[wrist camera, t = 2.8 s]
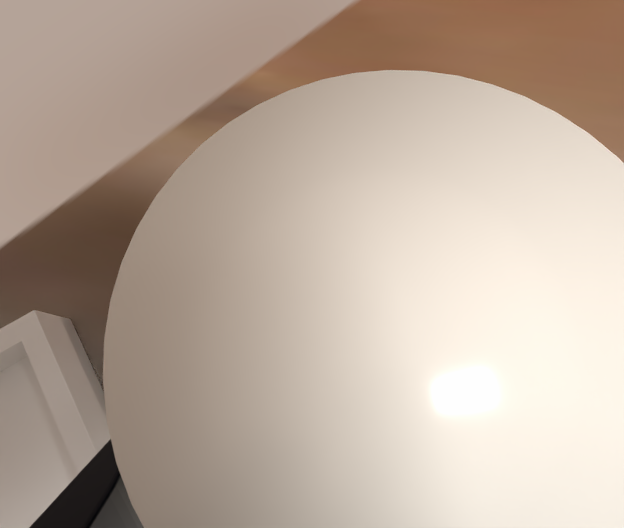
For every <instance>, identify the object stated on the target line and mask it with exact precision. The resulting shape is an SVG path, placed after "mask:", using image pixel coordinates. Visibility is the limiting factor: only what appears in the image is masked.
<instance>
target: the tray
mask: <svg viewBox="0 0 624 528" xmlns="http://www.w3.org/2000/svg"><path fill="white" fill-rule="evenodd" d="M110 439H111V437H110V433H109V429H108V424H107V419H106V408H105V397H104V391H103V389H102V387H101V385H100V383H99V380H98V378H97V376H96V374H95V372H94V369H93V367H92V365H91V363H90V361H89V359H88V356H87V354H86V352H85V350H84V348H83V345H82V343H81V341H80V339H79V337H78V335H77V332H76V330H75V328H74V326H73V324H72V322H71V319H68V318H64V317H60V316H57V315H53V314H49V313H45V312H41V311H37V310H33V311H31V312H29V313H28V314H26V315H24V316H22V317H20V318H19V319H17V320H15V321H13V322H11V323H10V324H8V325H6V326H4V327H2V328H1V329H0V528H29V527H30V526H31V525H32V524H33V523H34V522H35V521H36V520H37V518H38V517H39V516H40V515H41V514H42V513H43V512H44V511H45V510H46V509H47V508H48V506H49V505H50V504H51V503H52V502H53V501H54V500H55V499H56V498H57V497H58V496H59V494H60V493H61V492H62V491H63V490H64V489H65V488H66V487H67V486H68V485H69V484H70V482H71V481H72V480H73V479H74V478H75V477H76V476H77V475H78V474H79V473H80V472H81V470H82V469H83V468H84V467H85V466H86V465H87V464H88V463H89V462H90V461H91V460H92V458H93V457H94V456H95V455H96V454H97V453H98V452H99V451H100V450H101V449H102V448H103V446H104V445H105V444H106V443H107V442H108V441H109V440H110Z"/></svg>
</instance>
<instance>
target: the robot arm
mask: <svg viewBox="0 0 624 528" xmlns="http://www.w3.org/2000/svg"><path fill="white" fill-rule="evenodd" d="M29 528H144V527H143V525H142V523H141V521H140V519H139V517H138V515H137V513H136V512H135V510H134V508H133V506H132V504H131V501H130V499H129V496H128V493H127V490H126V488H125V485H124V482H123V480H122V477H121V474H120V472H119V469H118V466H117V463H116V459H115V455H114V451H113V446H112V442H111V439H110V440H109V441H108V442H107V443H106V444H105V445H104V446H103V448H102V449H101V450H100V451H99V452H98V453H97V454H96V455H95V456H94V457H93V458H92V460H91V461H90V462H89V463H88V464H87V465H86V466H85V467H84V468H83V469H82V470H81V472H80V473H79V474H78V475H77V476H76V477H75V478H74V479H73V480H72V481H71V482H70V484H69V485H68V486H67V487H66V488H65V489H64V490H63V491H62V492H61V493H60V494H59V496H58V497H57V498H56V499H55V500H54V501H53V502H52V503H51V504H50V505H49V506H48V508H47V509H46V510H45V511H44V512H43V513H42V514H41V515H40V516H39V517H38V518H37V520H36V521H35V522H34V523H33V524H32V525H31V526H30V527H29Z"/></svg>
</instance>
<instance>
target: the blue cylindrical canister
mask: <svg viewBox="0 0 624 528" xmlns="http://www.w3.org/2000/svg"><path fill="white" fill-rule="evenodd" d="M103 387H104V397H105V408H106V419H107V424H108V429H109V433H110V437H111V442H112V446H113V451H114V455H115V459H116V463H117V466H118V469H119V472H120V474H121V477H122V480H123V482H124V485H125V488H126V490H127V493H128V496H129V499H130V501H131V504H132V506H133V508H134V510H135V512H136V513H137V515H138V517H139V519H140V521H141V523H142V525H143V527H144V528H624V163H623V162H622V161H621V160H620V159H619V158H618V157H617V156H616V155H614V154H613V153H612V152H611V151H609V150H608V149H607V148H606V147H605V146H603V145H602V144H601V143H600V142H599V141H597V140H596V139H595V138H594V137H592V136H591V135H590V134H589V133H587V132H586V131H584V130H583V129H581V128H580V127H578V126H577V125H575V124H573V123H572V122H570V121H569V120H567V119H566V118H564V117H563V116H561V115H560V114H558V113H556V112H554V111H552V110H550V109H548V108H546V107H544V106H542V105H540V104H538V103H536V102H534V101H532V100H530V99H529V98H527V97H524V96H522V95H519V94H516V93H514V92H511V91H508V90H506V89H503V88H500V87H498V86H495V85H492V84H488V83H484V82H480V81H476V80H473V79H469V78H465V77H461V76H456V75H449V74H441V73H434V72H427V71H404V70H385V71H373V72H361V73H353V74H348V75H343V76H338V77H333V78H328V79H323V80H319V81H316V82H313V83H310V84H307V85H304V86H301V87H298V88H295V89H292V90H289V91H287V92H285V93H282V94H280V95H278V96H276V97H274V98H271V99H269V100H267V101H265V102H263V103H261V104H258V105H257V106H255V107H253V108H252V109H250V110H249V111H247V112H245V113H244V114H242V115H240V116H239V117H237V118H235V119H234V120H232V121H231V122H229V123H228V124H226V125H225V126H224V127H223V128H221V129H220V130H219V131H218V132H216V133H215V134H214V135H212V136H211V137H210V138H209V139H207V140H206V141H205V142H204V143H202V144H201V145H200V146H199V147H198V148H197V149H196V150H195V151H194V152H193V153H192V154H191V155H190V156H189V157H188V158H187V159H186V160H185V161H184V162H183V163H182V164H181V165H180V166H179V167H178V168H177V170H176V171H175V172H174V173H173V175H172V176H171V177H170V179H169V180H168V181H167V182H166V184H165V185H164V186H163V188H162V189H161V190H160V191H159V193H158V194H157V195H156V197H155V198H154V200H153V201H152V203H151V205H150V206H149V208H148V210H147V212H146V213H145V215H144V217H143V218H142V220H141V222H140V223H139V225H138V227H137V228H136V231H135V233H134V235H133V237H132V240H131V242H130V244H129V247H128V249H127V251H126V253H125V256H124V258H123V260H122V262H121V266H120V269H119V273H118V276H117V279H116V283H115V286H114V289H113V293H112V296H111V300H110V306H109V312H108V318H107V324H106V330H105V336H104V358H103Z"/></svg>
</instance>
